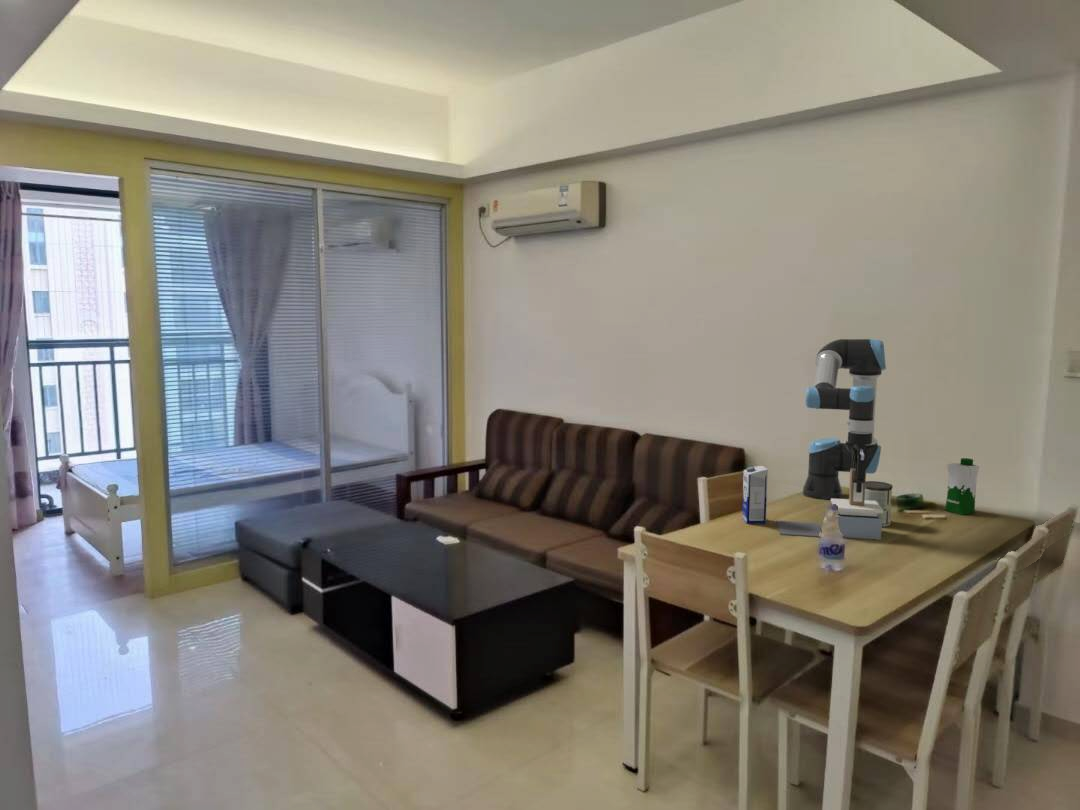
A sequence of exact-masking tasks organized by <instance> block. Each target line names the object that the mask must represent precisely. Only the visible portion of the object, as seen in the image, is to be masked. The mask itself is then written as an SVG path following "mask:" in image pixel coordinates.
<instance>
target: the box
mask: <svg viewBox="0 0 1080 810" xmlns="http://www.w3.org/2000/svg"><path fill="white" fill-rule="evenodd" d="M837 518H838V525H839V529H840V532H841V533H842V534H843V536H844V537H843V538H850V539H864V540H881V539H882V527H881V525H882V519H881V517H880V516H879V515H878V513H877V517H875V516H857V515H840V514H838V517H837Z"/></svg>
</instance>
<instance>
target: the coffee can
mask: <svg viewBox="0 0 1080 810" xmlns="http://www.w3.org/2000/svg"><path fill="white" fill-rule="evenodd" d="M893 487H894V486H893V485H892V484H891V483H888V482H884V481H875V480H867V481H866V483H865V500H871V501H876V502H877V503H878V504H879V505H880V507H881V508H882V509H883V513H878V515H879V516H880V517H881V519H882V525H881V528H882V527H883V528H884V527H889V526H890V525H891V514H892V513H891V512H892V500H893V499H892V494H893Z"/></svg>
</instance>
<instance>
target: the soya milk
mask: <svg viewBox="0 0 1080 810" xmlns="http://www.w3.org/2000/svg"><path fill="white" fill-rule="evenodd" d="M973 463H974V459H972V458H968V457H967V458H966V457H962V458H960V462H953V463H949V464H948V463H947V464H946V466H947V467H946V468H947V472H948V479H947V490H946V491H947V493H946V494H947V496H946V502H945V509H944V510H945V511H946V512H949V513H953V514H957V515H962V516H963V515H968V514H969V515H970V514H975V512H976V511H975V509H976V507H975V506H976V493H977V478H978V473H979V469H980V465H975V464H973Z"/></svg>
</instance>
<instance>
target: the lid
mask: <svg viewBox="0 0 1080 810" xmlns="http://www.w3.org/2000/svg"><path fill="white" fill-rule="evenodd" d="M866 477H867V474H866V470H865V482H864V483H863V496H862V502H855V501H853V495H854V483H853V481H855V469H851V468H850V472H849V489H848V490H849V491H848V498H838V499H833V498H831V499H830V503H831V504H832V505H833V504H836V505H837V506H838V512H839V514H840V515H857V516H875V517H877V513H883V509H882V508H881V507H880V505H879V504H878V503H877V502H876V501H871V500H865V483H866V480H867V478H866Z"/></svg>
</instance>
